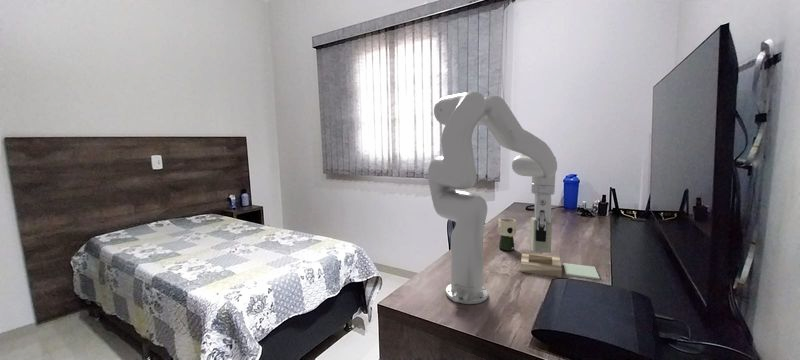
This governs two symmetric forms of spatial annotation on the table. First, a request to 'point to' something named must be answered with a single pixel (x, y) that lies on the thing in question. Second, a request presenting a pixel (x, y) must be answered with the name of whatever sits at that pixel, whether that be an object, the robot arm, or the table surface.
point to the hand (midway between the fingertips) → (540, 238)
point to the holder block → (541, 264)
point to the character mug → (507, 233)
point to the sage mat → (581, 271)
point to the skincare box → (538, 245)
